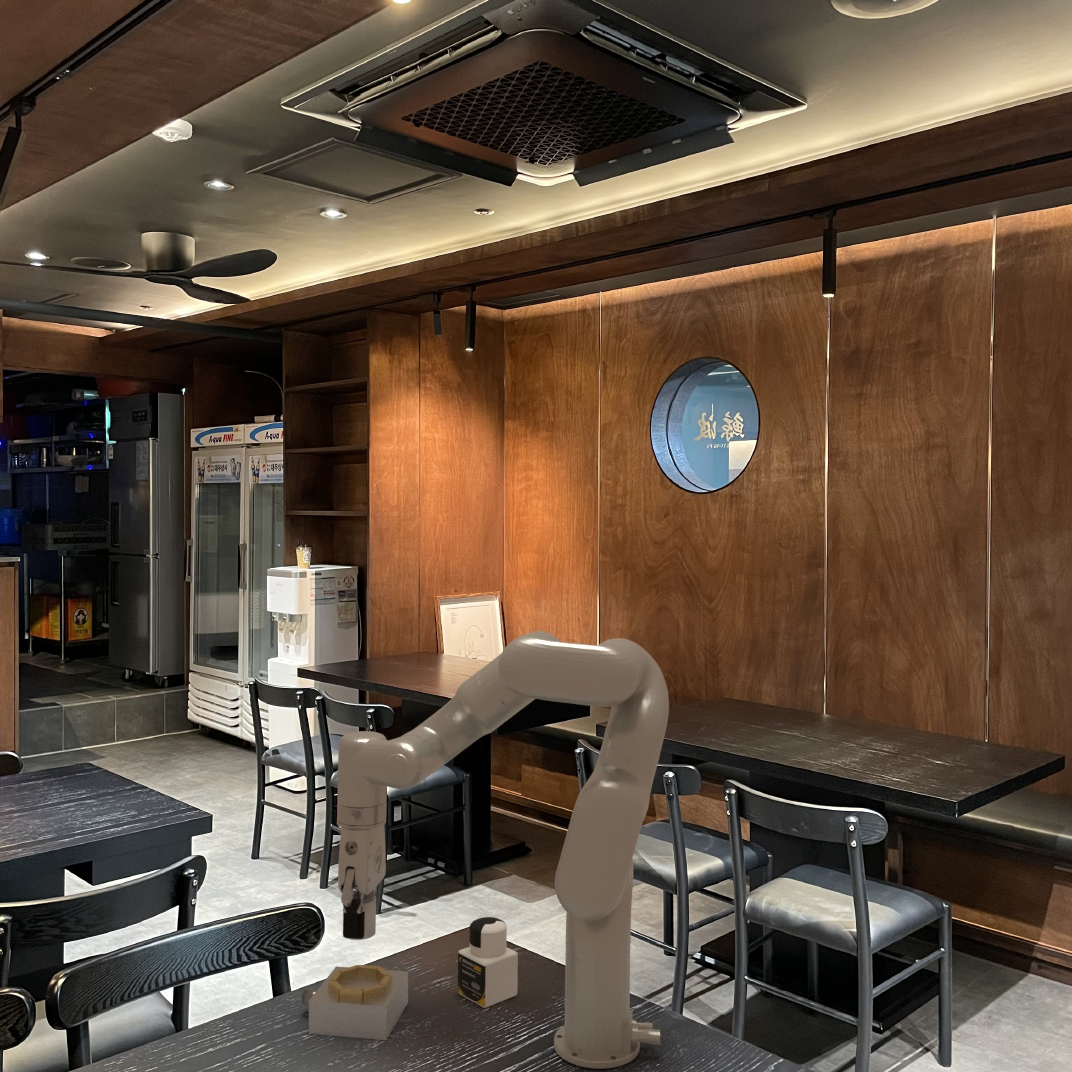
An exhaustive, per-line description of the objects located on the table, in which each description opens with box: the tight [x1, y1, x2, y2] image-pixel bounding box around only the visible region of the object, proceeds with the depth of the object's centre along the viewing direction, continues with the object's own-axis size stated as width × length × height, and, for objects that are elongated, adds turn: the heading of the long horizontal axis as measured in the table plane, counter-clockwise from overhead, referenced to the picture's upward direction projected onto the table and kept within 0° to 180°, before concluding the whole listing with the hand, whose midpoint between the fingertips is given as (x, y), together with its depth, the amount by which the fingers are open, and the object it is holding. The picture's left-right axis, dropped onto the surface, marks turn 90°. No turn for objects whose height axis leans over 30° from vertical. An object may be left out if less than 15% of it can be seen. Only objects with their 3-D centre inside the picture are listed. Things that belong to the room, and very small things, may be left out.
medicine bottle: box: [457, 916, 519, 1009], centre depth 164 cm, size 7×7×12 cm
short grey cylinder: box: [346, 889, 377, 941], centre depth 156 cm, size 5×5×6 cm
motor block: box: [301, 964, 409, 1041], centre depth 156 cm, size 15×12×6 cm
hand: (359, 929), depth 156 cm, fingers closed on short grey cylinder, 5 cm apart
